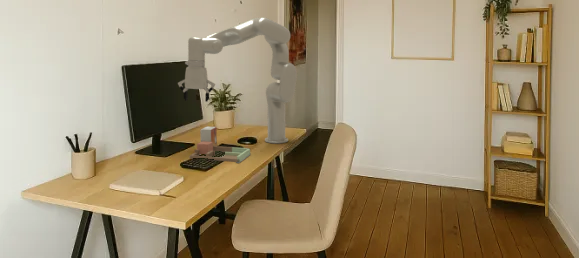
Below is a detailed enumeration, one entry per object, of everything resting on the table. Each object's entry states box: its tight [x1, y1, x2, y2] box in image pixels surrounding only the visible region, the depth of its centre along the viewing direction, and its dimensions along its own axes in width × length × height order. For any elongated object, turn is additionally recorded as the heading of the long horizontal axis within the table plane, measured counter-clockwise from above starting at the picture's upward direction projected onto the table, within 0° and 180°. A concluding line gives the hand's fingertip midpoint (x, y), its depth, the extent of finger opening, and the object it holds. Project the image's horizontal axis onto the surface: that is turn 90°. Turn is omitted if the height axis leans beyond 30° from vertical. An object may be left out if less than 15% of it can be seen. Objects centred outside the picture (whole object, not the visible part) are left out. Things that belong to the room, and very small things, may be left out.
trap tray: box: [188, 145, 251, 164], centre depth 199 cm, size 15×24×3 cm, turn 76°
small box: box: [200, 126, 218, 146], centre depth 214 cm, size 8×6×10 cm
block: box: [196, 141, 213, 154], centre depth 203 cm, size 6×6×5 cm
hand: (196, 100), depth 202 cm, fingers open, 9 cm apart
